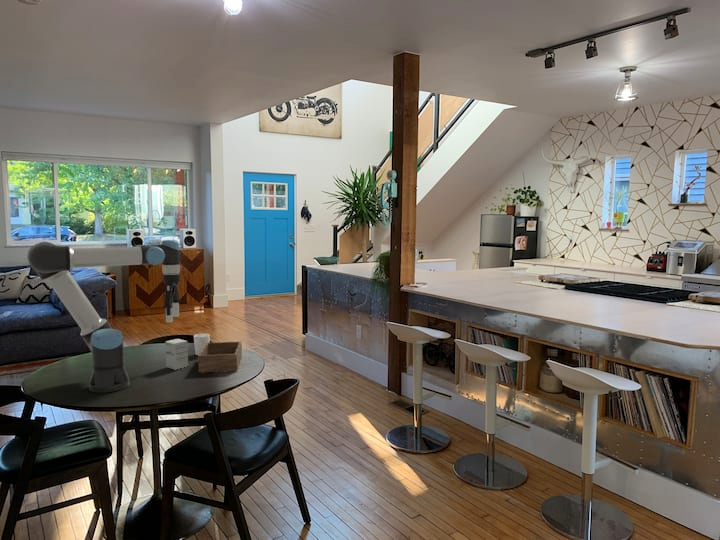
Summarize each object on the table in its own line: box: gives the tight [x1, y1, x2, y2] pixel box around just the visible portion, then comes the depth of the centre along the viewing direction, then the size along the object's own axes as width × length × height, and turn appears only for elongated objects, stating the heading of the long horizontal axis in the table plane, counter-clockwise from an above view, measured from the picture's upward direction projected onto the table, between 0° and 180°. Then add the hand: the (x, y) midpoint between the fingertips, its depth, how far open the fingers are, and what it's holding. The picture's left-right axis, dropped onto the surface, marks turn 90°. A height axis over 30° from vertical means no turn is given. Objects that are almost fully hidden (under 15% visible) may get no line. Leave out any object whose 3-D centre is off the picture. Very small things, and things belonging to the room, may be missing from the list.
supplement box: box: [164, 338, 189, 371], centre depth 241 cm, size 7×7×13 cm
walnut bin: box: [197, 341, 243, 373], centre depth 245 cm, size 24×17×8 cm
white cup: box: [193, 333, 211, 356], centre depth 263 cm, size 8×8×10 cm
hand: (172, 319), depth 239 cm, fingers open, 13 cm apart
